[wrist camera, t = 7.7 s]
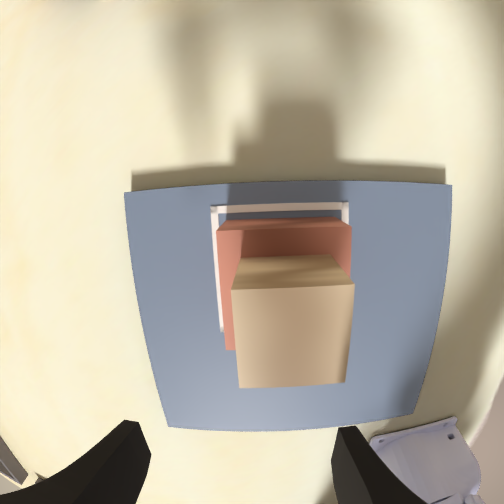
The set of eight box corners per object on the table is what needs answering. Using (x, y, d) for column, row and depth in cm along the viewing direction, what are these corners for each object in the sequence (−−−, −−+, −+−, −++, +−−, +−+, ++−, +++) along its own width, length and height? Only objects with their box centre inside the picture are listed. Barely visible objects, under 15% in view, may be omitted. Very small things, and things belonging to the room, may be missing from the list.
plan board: (443, 184, 16) (452, 185, 15) (408, 406, 21) (413, 414, 20) (130, 191, 17) (123, 192, 16) (171, 418, 22) (168, 427, 21)
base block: (334, 216, 16) (351, 226, 13) (331, 316, 18) (344, 345, 14) (225, 220, 17) (215, 230, 13) (232, 319, 18) (225, 350, 15)
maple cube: (330, 254, 13) (354, 284, 9) (327, 333, 14) (344, 382, 10) (240, 257, 14) (230, 289, 10) (245, 337, 14) (239, 388, 11)
